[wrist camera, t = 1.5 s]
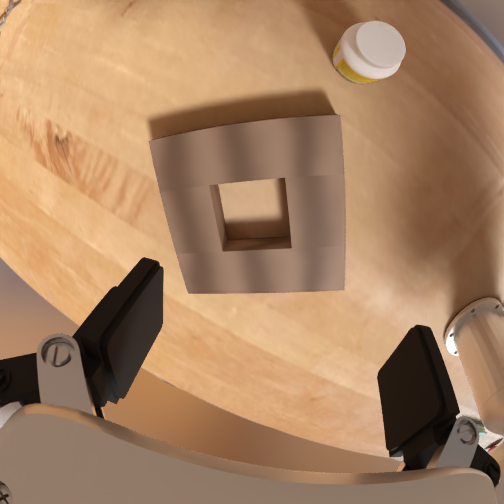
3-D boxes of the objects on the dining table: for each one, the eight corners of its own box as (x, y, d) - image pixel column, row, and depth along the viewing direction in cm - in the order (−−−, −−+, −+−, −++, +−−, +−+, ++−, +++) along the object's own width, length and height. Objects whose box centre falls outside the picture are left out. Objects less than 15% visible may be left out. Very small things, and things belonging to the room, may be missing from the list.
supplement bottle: (385, 83, 24) (420, 76, 15) (337, 86, 25) (354, 77, 17) (375, 38, 21) (404, 14, 13) (326, 40, 23) (337, 13, 14)
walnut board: (336, 114, 27) (340, 115, 24) (341, 276, 36) (344, 290, 33) (160, 137, 31) (148, 141, 28) (195, 280, 40) (188, 293, 37)
